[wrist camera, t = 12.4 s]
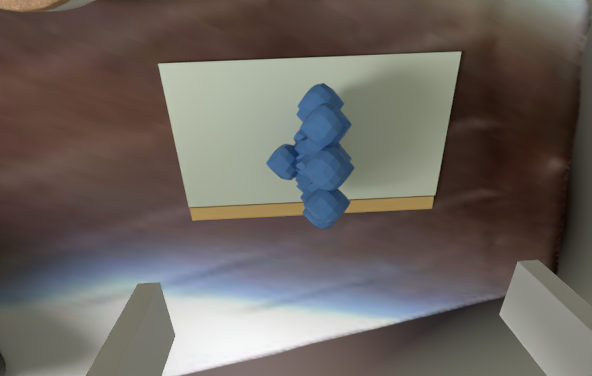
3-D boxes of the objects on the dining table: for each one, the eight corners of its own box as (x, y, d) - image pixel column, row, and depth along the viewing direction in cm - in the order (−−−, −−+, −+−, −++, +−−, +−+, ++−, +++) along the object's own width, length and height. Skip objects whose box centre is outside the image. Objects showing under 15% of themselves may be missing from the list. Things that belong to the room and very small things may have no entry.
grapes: (262, 75, 27) (251, 102, 17) (340, 71, 28) (378, 95, 17) (273, 193, 33) (269, 273, 22) (338, 189, 33) (366, 267, 22)
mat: (190, 205, 33) (188, 207, 33) (160, 63, 27) (158, 63, 27) (433, 193, 34) (435, 195, 33) (458, 51, 28) (461, 51, 27)
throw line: (193, 219, 34) (192, 220, 34) (190, 207, 33) (189, 208, 33) (430, 207, 35) (431, 208, 34) (432, 195, 34) (434, 196, 34)
